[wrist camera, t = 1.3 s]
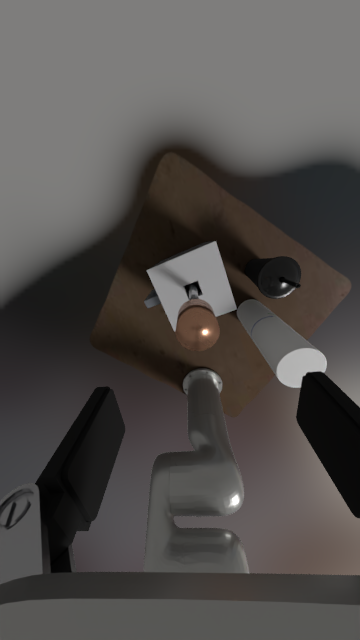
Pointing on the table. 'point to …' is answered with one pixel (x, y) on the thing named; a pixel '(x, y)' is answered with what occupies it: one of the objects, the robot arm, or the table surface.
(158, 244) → the table surface
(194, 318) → the copper piston
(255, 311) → the cylindrical container
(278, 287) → the drinking cup
